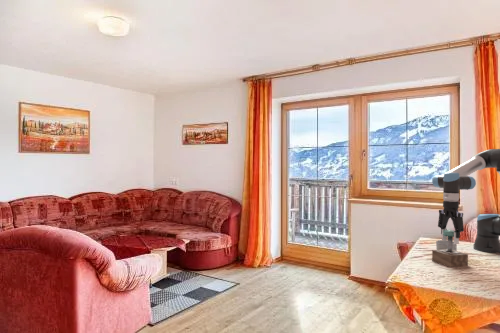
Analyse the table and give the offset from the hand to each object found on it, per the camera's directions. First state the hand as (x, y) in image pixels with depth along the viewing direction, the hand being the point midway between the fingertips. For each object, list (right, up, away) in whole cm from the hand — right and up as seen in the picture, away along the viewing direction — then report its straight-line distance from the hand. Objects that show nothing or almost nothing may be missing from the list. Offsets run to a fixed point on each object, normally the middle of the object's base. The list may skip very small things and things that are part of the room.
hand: (450, 242), depth 187 cm
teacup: (+8, -12, +18) cm, 23 cm away
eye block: (0, -11, 0) cm, 11 cm away
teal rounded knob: (0, -9, 0) cm, 9 cm away
